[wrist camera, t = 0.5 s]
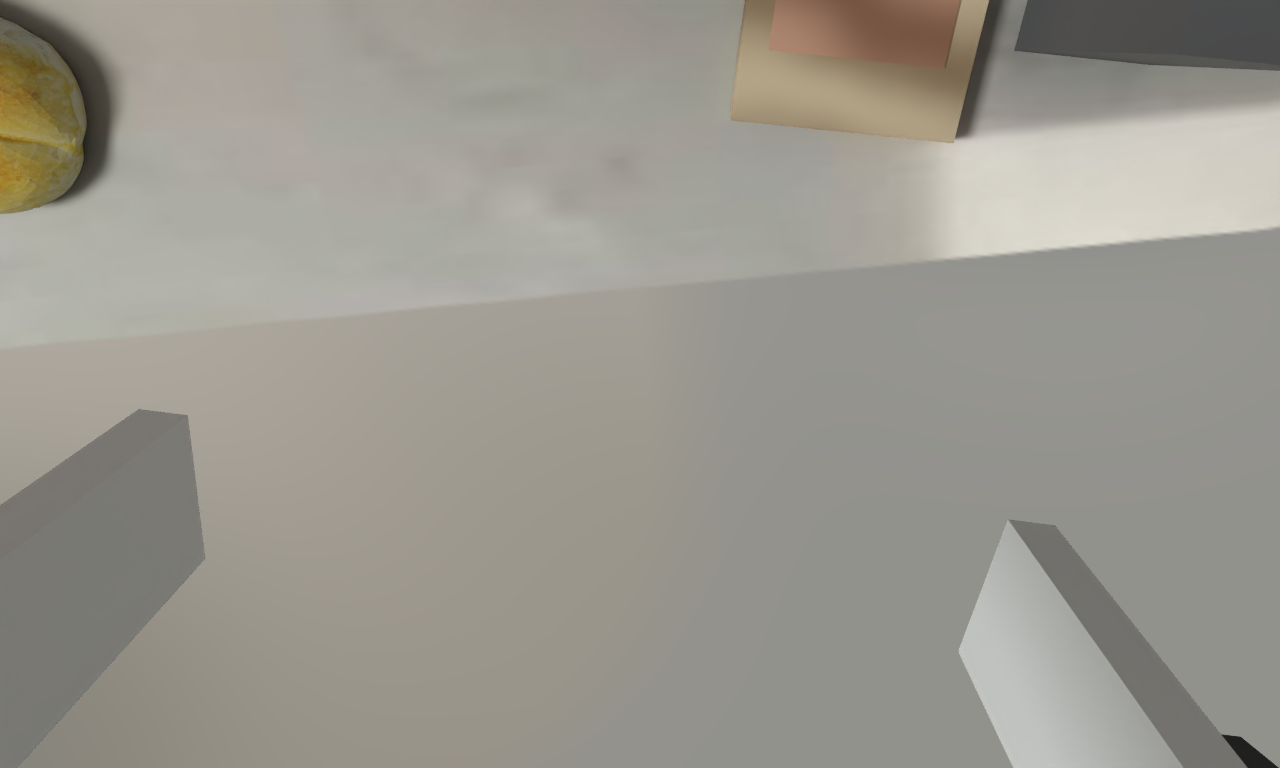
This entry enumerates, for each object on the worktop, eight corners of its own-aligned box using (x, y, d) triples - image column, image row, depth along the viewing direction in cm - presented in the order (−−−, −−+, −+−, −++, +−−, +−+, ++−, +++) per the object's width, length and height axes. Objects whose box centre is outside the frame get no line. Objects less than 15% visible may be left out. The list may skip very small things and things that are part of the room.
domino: (1027, -1, 33) (1203, -22, 22) (1167, 14, 33) (1410, 0, 22) (1014, 50, 34) (1177, 54, 23) (1150, 64, 34) (1377, 75, 23)
